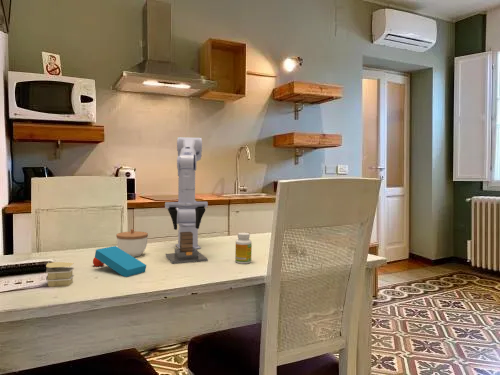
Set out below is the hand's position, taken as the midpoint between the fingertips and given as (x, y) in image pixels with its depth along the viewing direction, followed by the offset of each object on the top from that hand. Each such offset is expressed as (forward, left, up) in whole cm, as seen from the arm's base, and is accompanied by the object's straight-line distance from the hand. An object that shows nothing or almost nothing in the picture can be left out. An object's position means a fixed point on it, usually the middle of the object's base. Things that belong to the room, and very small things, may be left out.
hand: (186, 228), depth 139 cm
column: (0, 0, -8) cm, 8 cm away
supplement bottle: (+11, +17, -11) cm, 23 cm away
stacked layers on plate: (+18, -39, -11) cm, 44 cm away
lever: (+8, -24, -11) cm, 27 cm away
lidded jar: (-11, -17, -11) cm, 23 cm away
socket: (0, 0, -10) cm, 10 cm away
